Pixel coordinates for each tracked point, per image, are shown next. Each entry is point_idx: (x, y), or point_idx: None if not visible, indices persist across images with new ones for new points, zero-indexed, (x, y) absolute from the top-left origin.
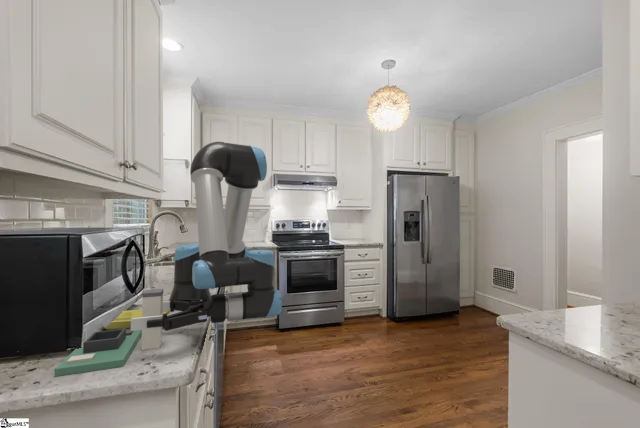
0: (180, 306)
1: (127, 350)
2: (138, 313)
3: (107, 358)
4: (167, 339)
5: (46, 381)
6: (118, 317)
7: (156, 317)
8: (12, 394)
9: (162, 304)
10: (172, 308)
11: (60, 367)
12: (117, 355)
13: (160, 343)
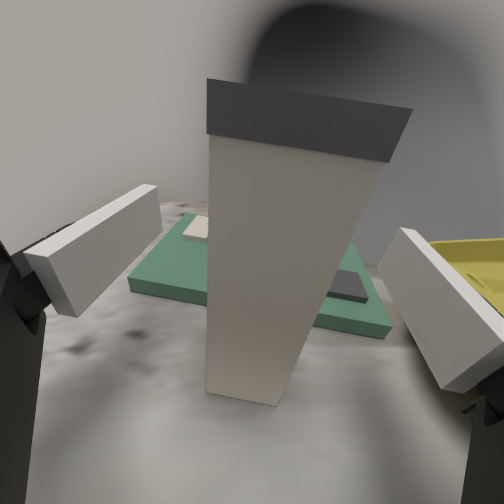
0: (500, 501)
1: (192, 286)
2: None
3: (169, 255)
4: (297, 437)
5: (176, 219)
6: (452, 265)
7: (63, 236)
8: (163, 204)
9: (320, 264)
10: (482, 408)
11: (188, 216)
12: (172, 269)
13: (230, 392)
